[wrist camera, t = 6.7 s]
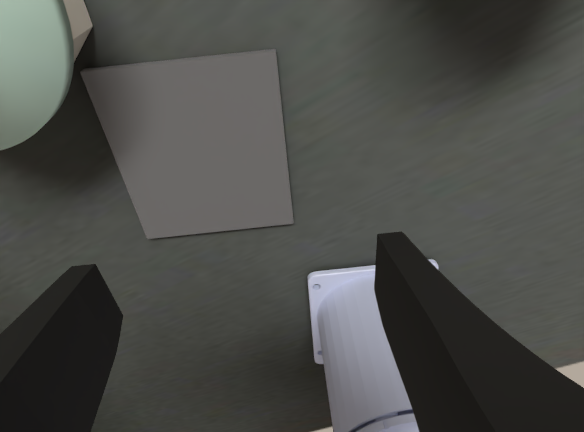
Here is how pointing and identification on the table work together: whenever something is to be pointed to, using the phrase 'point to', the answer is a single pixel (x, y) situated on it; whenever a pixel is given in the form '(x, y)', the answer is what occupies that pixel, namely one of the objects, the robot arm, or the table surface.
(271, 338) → the table surface
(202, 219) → the mat
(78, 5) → the bowl
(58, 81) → the lid
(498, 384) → the robot arm
